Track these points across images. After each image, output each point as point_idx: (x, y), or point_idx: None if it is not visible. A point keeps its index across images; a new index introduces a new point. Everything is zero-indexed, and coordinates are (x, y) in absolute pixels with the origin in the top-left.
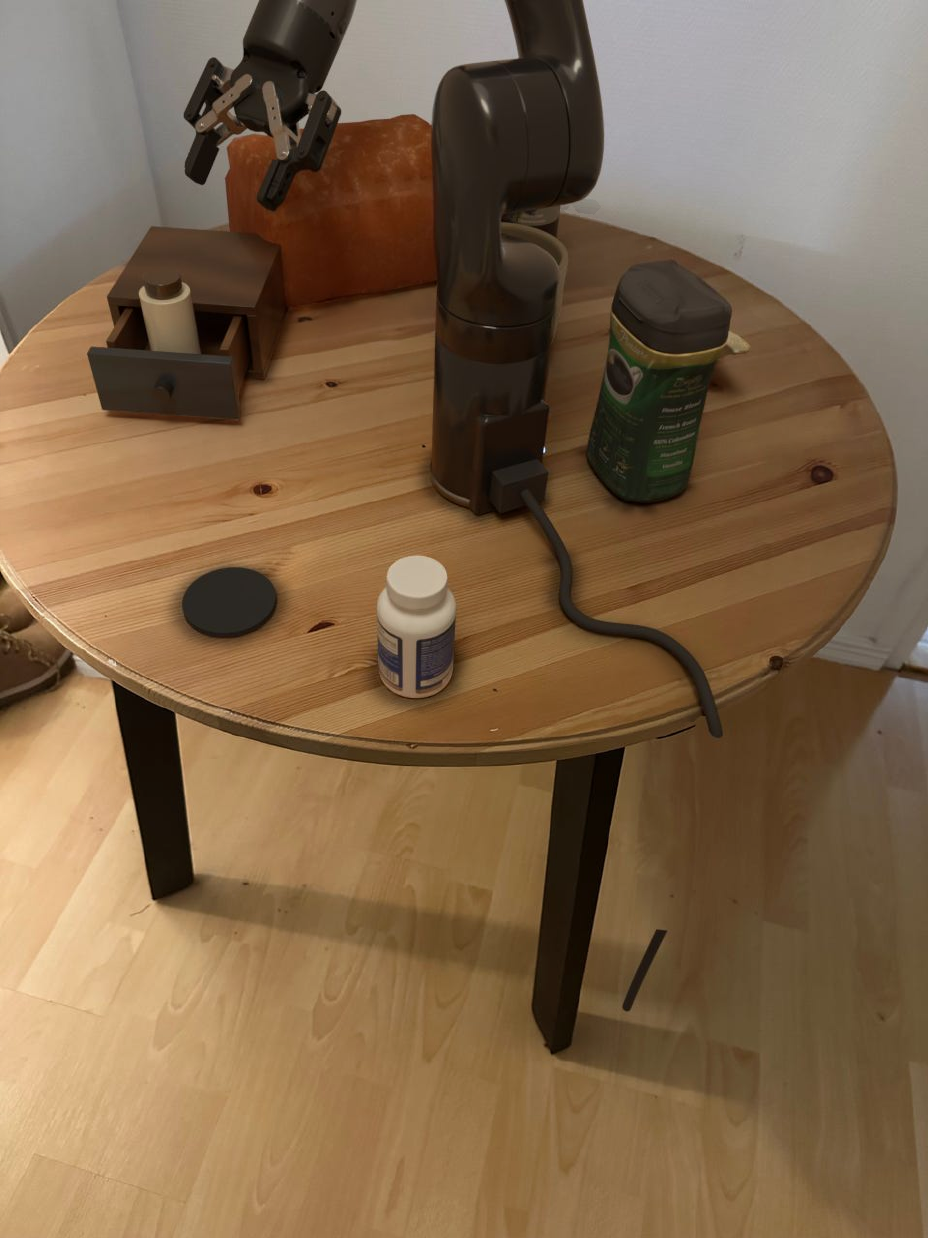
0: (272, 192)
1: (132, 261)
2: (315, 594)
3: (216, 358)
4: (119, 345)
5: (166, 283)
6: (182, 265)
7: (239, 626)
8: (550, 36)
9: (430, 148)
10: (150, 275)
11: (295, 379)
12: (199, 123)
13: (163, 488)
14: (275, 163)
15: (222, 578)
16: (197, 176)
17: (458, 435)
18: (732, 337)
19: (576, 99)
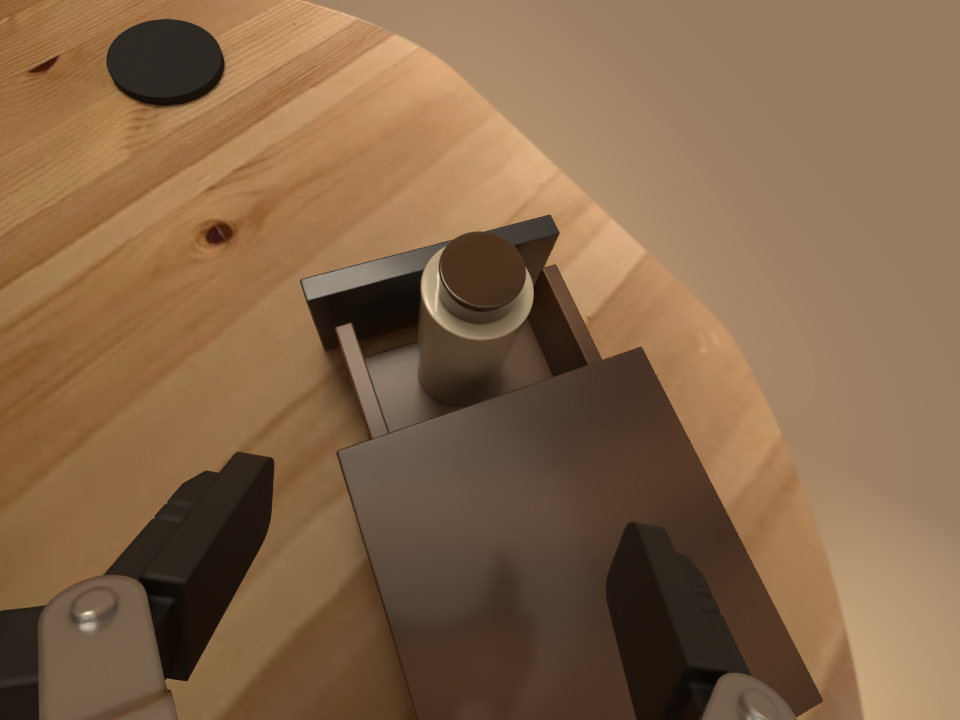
0: (198, 489)
1: (711, 499)
2: (68, 101)
3: (333, 283)
4: (544, 291)
5: (452, 246)
6: (604, 542)
7: (135, 30)
8: None
9: None
10: (506, 261)
11: (297, 513)
12: (767, 708)
13: (353, 192)
14: (162, 564)
15: (187, 77)
16: (621, 560)
17: None
18: None
19: None
